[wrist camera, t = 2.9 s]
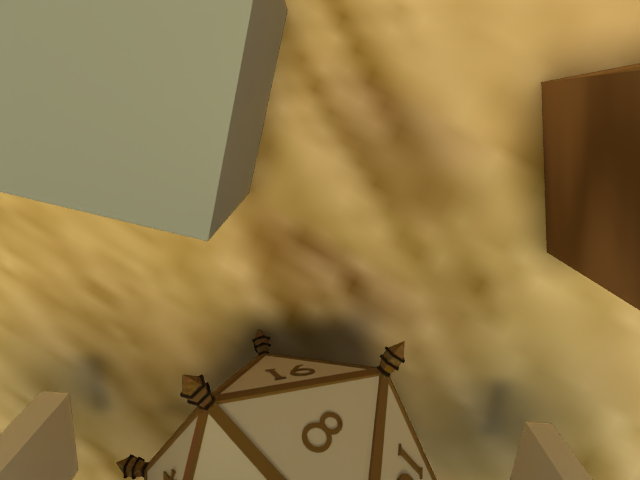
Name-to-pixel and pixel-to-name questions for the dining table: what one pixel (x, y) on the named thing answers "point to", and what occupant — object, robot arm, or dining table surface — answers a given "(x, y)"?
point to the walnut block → (595, 176)
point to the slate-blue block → (136, 105)
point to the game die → (292, 425)
